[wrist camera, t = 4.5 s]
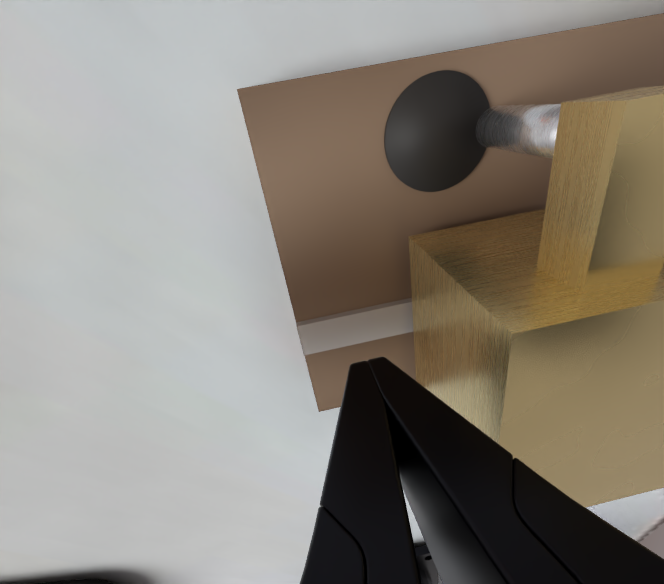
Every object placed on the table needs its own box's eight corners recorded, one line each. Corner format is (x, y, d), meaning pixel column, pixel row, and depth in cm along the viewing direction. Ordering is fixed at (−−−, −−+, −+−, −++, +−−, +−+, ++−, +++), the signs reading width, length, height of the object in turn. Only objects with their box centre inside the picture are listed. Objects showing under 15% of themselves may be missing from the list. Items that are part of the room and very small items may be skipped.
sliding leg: (538, 359, 11) (670, 485, 7) (415, 388, 10) (488, 532, 7) (587, 82, 7) (911, 52, 3) (400, 117, 7) (538, 124, 3)
